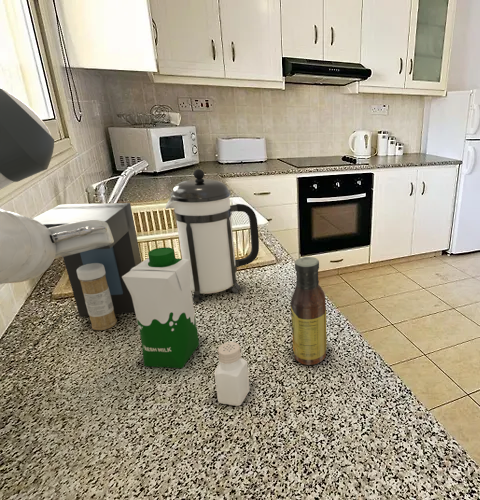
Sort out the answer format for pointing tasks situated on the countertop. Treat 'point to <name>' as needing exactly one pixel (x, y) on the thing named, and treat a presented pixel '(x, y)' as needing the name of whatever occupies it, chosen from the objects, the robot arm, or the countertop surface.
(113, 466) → the countertop surface
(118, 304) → the coffee maker
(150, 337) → the milk carton
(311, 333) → the sauce bottle
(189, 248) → the coffee press
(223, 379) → the salt shaker
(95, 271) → the sprinkles bottle
